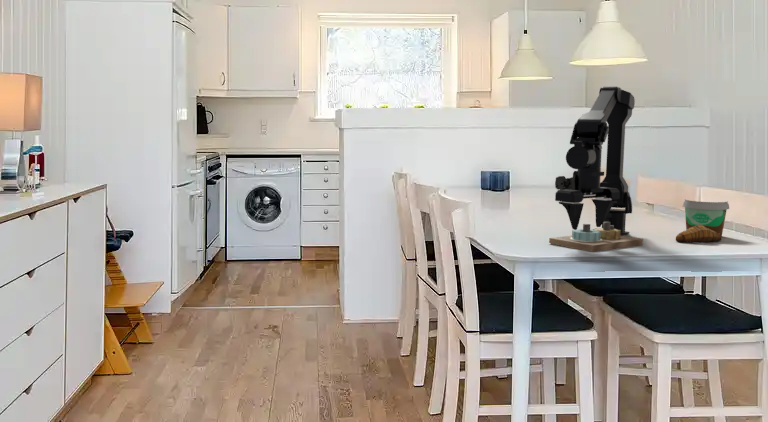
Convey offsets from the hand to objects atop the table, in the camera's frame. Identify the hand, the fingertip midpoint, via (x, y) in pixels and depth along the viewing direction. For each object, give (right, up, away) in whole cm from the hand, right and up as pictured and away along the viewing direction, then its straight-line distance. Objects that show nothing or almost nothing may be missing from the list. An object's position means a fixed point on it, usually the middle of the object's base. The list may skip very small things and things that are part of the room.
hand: (586, 228), depth 198 cm
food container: (+38, -3, +19) cm, 43 cm away
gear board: (+3, -4, +3) cm, 6 cm away
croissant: (+33, -4, +10) cm, 34 cm away
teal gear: (0, -3, 0) cm, 3 cm away
